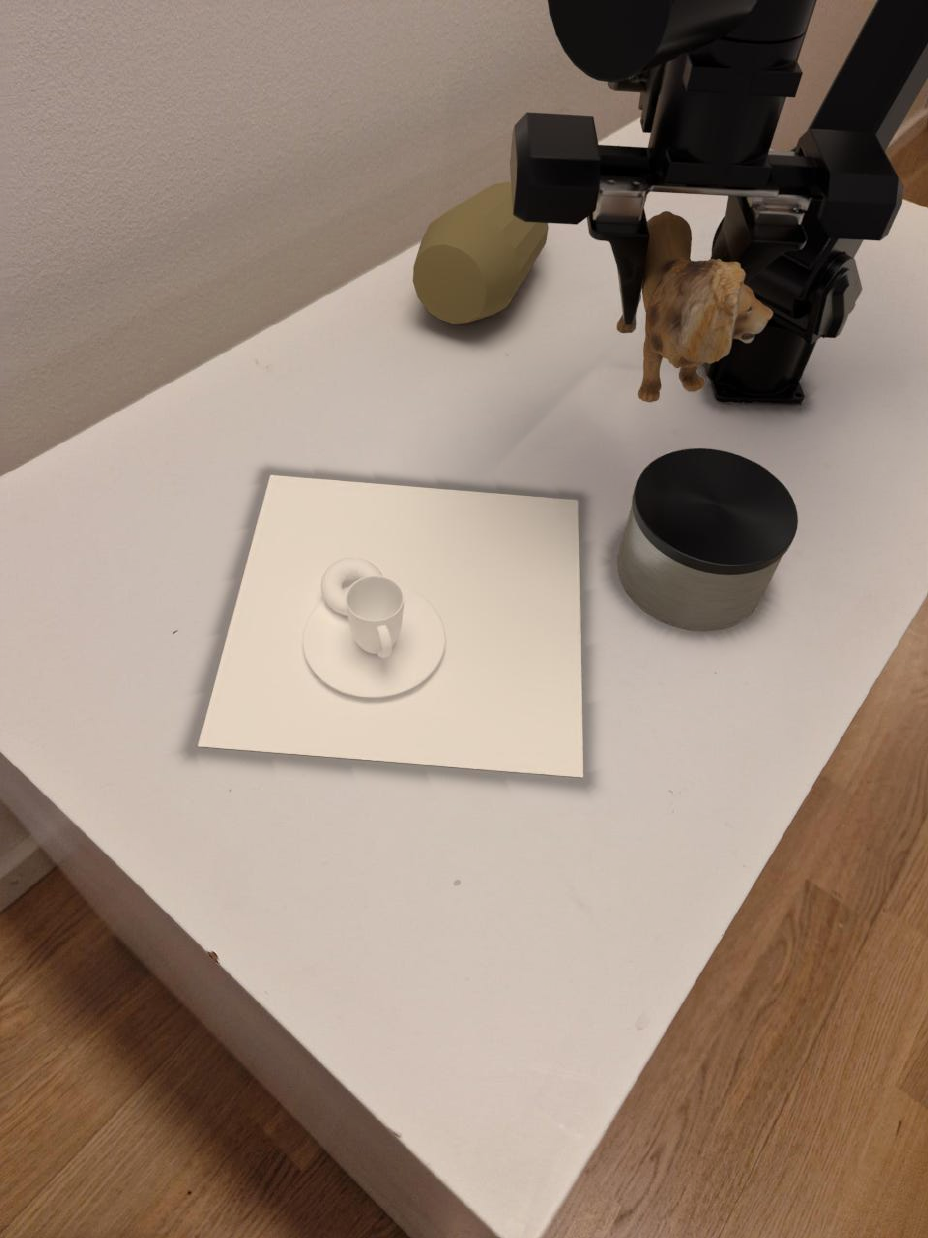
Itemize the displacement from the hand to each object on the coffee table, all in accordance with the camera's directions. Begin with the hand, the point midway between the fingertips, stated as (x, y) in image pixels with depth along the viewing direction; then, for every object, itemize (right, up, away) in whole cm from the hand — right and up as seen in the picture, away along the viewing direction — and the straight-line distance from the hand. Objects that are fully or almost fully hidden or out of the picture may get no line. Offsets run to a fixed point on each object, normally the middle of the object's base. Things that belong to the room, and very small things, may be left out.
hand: (661, 322), depth 53 cm
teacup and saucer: (-14, -16, +1) cm, 22 cm away
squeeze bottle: (-12, +7, +13) cm, 19 cm away
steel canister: (+3, -14, +4) cm, 15 cm away
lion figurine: (+1, -2, +1) cm, 2 cm away
